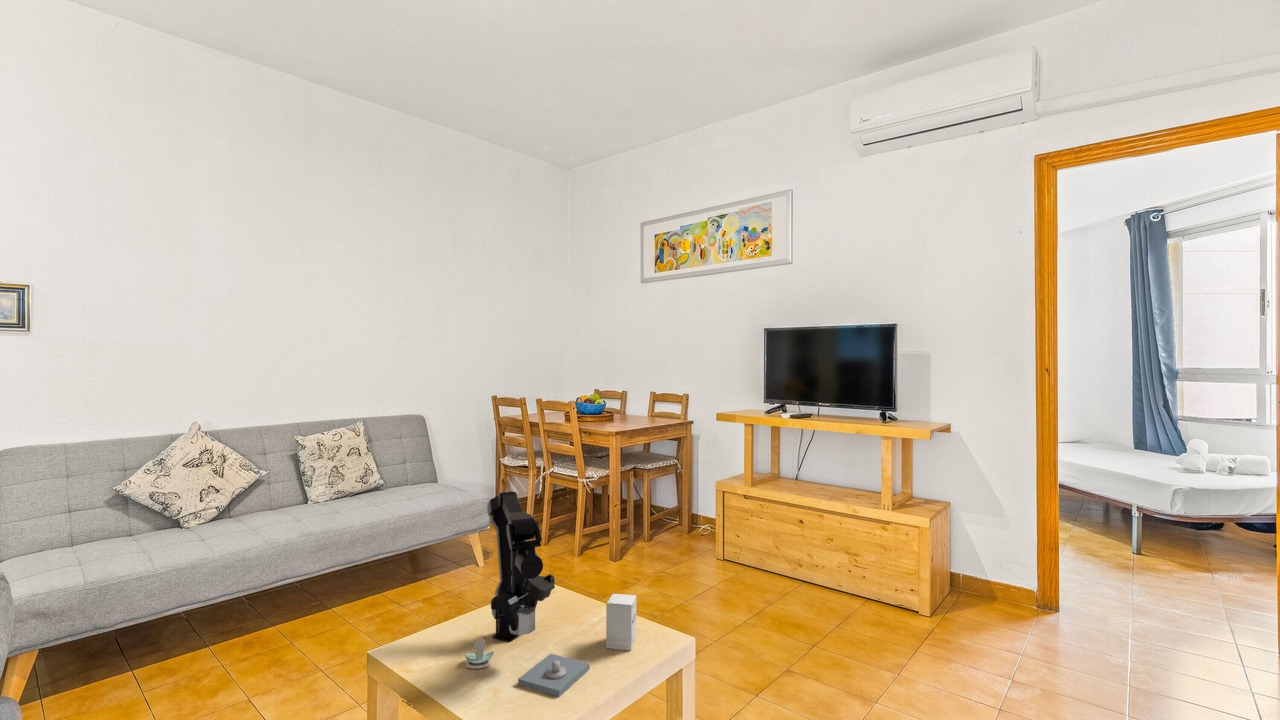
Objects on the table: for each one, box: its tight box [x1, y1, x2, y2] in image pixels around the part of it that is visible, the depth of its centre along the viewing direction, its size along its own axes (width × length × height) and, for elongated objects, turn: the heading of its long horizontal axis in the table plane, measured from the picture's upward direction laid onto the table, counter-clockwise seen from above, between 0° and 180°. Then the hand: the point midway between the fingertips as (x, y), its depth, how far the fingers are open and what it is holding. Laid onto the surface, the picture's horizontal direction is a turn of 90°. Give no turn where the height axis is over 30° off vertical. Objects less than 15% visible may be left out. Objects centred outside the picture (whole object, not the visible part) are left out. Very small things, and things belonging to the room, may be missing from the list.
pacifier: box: [464, 637, 495, 670], centre depth 156 cm, size 7×6×6 cm
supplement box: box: [605, 593, 637, 651], centre depth 167 cm, size 7×7×13 cm
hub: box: [509, 605, 536, 636], centre depth 156 cm, size 6×6×5 cm
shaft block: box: [517, 653, 590, 698], centre depth 149 cm, size 12×14×4 cm
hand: (522, 625), depth 156 cm, fingers closed on hub, 6 cm apart
